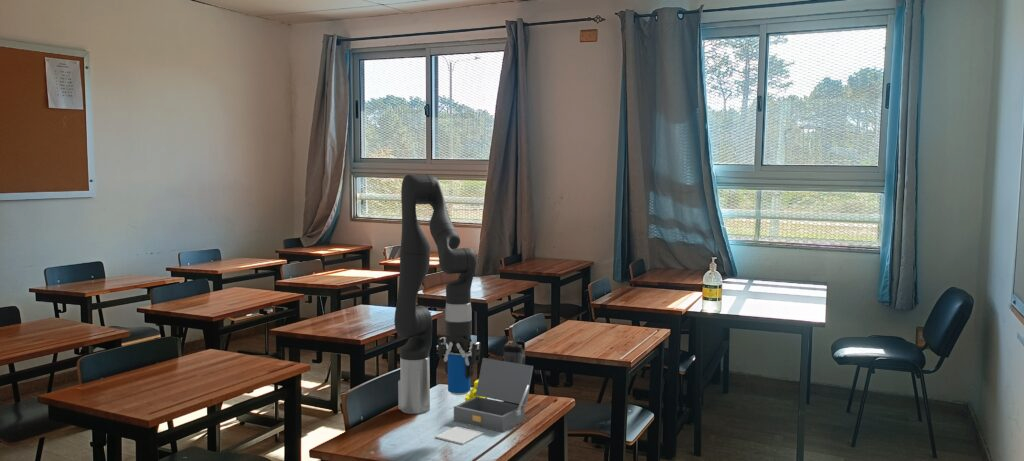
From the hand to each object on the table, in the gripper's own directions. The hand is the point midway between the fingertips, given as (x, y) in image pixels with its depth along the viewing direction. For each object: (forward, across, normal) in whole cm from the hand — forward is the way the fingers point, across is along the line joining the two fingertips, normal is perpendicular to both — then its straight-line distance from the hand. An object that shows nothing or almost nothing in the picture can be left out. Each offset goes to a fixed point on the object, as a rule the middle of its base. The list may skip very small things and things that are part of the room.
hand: (459, 375), depth 206 cm
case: (+18, 0, +17) cm, 24 cm away
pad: (+18, 0, 0) cm, 18 cm away
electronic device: (+18, -3, +34) cm, 38 cm away
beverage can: (+5, 0, 0) cm, 5 cm away
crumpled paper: (+18, -14, +28) cm, 36 cm away
